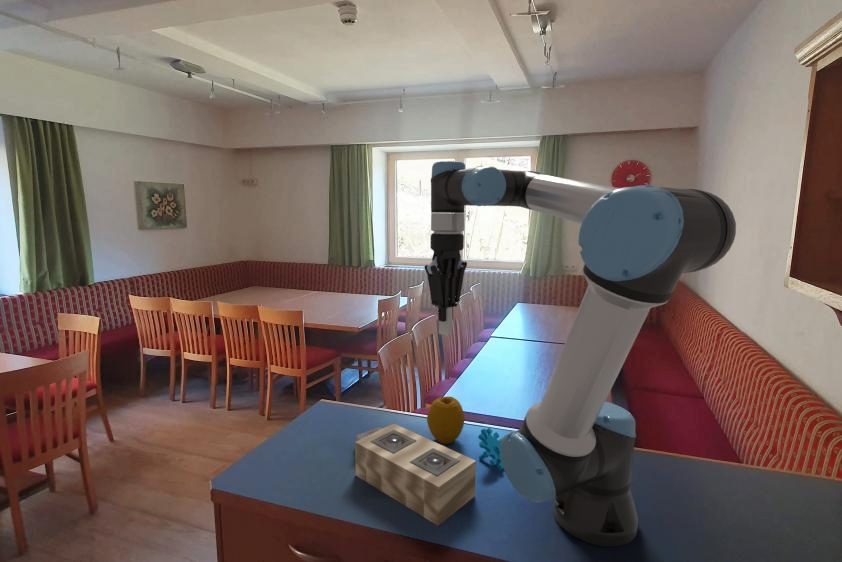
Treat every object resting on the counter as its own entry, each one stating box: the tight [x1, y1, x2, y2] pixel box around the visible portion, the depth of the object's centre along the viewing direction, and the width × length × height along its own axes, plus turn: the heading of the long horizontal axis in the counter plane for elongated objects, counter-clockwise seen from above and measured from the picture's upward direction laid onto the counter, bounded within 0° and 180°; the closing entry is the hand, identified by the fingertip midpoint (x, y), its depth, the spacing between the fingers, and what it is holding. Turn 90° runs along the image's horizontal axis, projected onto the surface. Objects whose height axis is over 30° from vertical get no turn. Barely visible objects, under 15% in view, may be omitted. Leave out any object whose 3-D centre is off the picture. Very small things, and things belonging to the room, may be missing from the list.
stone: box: [355, 427, 384, 442], centre depth 110 cm, size 10×8×6 cm
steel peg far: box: [386, 436, 402, 449], centre depth 100 cm, size 4×4×8 cm
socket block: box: [354, 423, 477, 526], centre depth 96 cm, size 24×12×8 cm, turn 48°
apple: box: [426, 396, 466, 445], centre depth 115 cm, size 10×10×12 cm
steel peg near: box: [426, 455, 444, 470], centre depth 92 cm, size 4×4×8 cm
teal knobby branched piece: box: [477, 427, 504, 471], centre depth 106 cm, size 11×6×10 cm
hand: (445, 334), depth 104 cm, fingers closed
